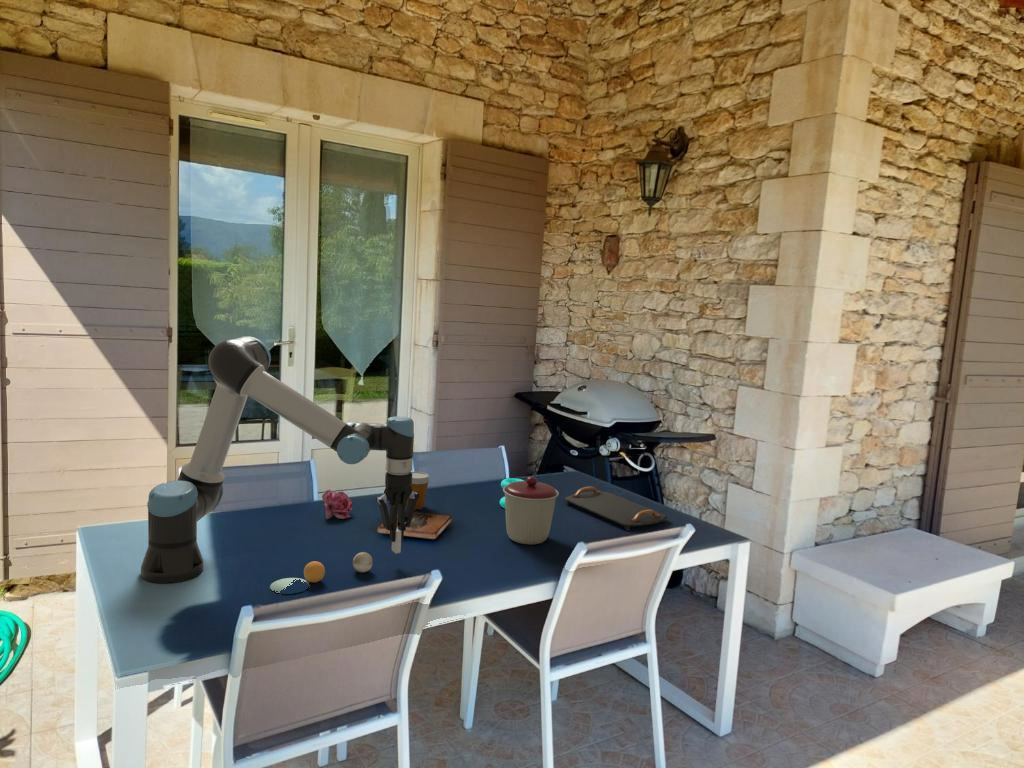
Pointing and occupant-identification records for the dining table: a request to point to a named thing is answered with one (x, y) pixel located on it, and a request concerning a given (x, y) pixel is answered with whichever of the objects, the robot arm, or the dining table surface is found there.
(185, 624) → the dining table surface
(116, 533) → the dining table surface
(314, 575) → the orange ball
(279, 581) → the pale green flat disc
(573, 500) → the serving board
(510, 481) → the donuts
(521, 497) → the canister
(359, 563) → the ivory ball
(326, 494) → the flower
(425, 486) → the disposable coffee cup
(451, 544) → the dining table surface
